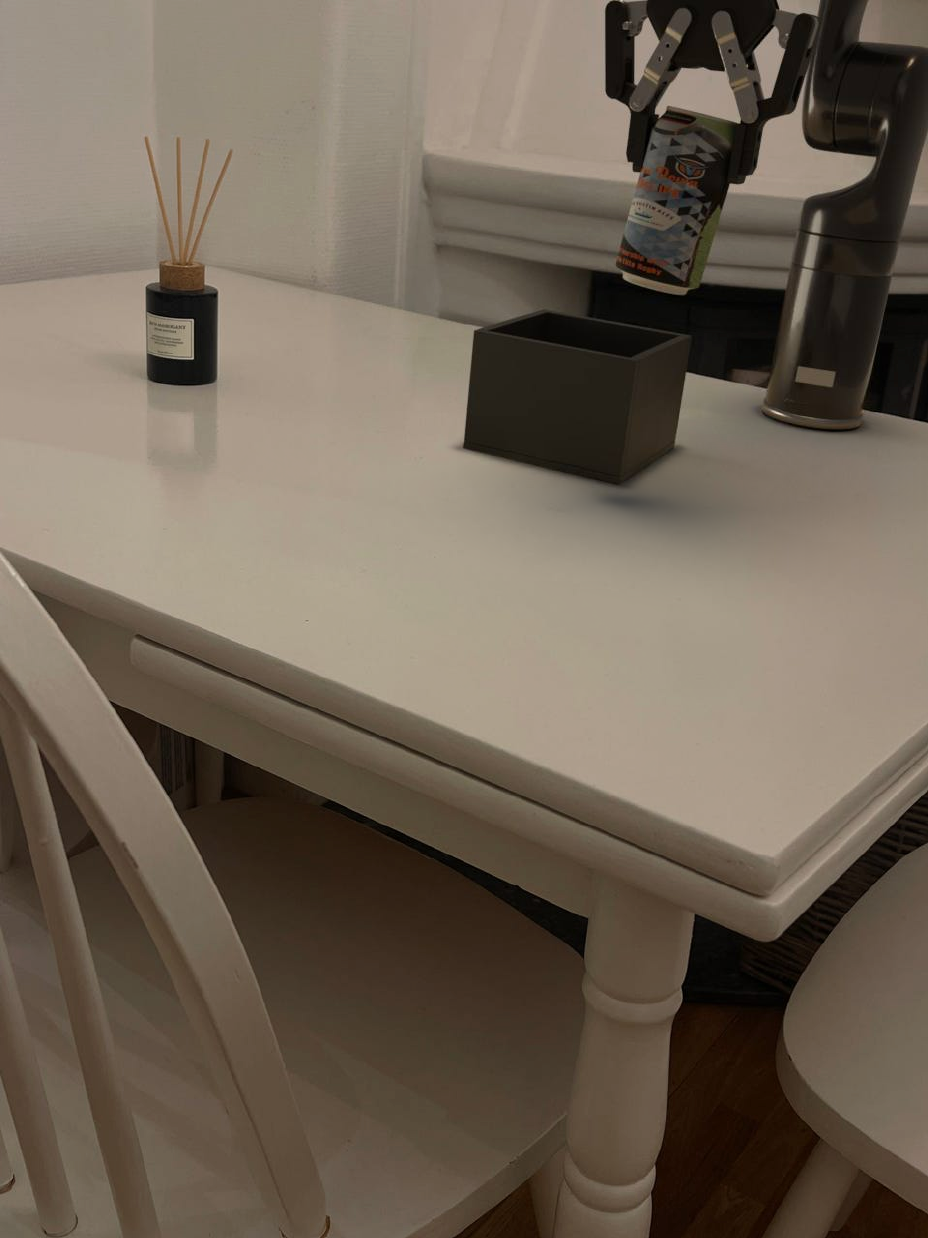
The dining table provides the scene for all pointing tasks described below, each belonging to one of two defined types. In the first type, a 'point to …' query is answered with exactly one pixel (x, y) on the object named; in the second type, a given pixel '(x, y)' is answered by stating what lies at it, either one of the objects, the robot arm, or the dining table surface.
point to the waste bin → (575, 393)
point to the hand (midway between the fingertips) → (687, 176)
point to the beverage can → (677, 201)
